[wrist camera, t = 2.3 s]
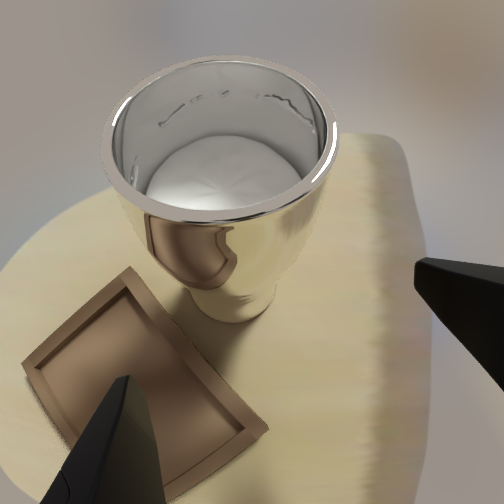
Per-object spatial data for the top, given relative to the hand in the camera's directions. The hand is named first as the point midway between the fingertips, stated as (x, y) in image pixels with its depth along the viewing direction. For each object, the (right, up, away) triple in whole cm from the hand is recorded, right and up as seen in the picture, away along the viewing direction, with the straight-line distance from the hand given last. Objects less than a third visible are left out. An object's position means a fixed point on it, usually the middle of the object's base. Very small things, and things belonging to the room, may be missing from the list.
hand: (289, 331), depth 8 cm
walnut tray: (-9, -8, +10) cm, 16 cm away
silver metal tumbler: (-2, 0, +14) cm, 14 cm away
